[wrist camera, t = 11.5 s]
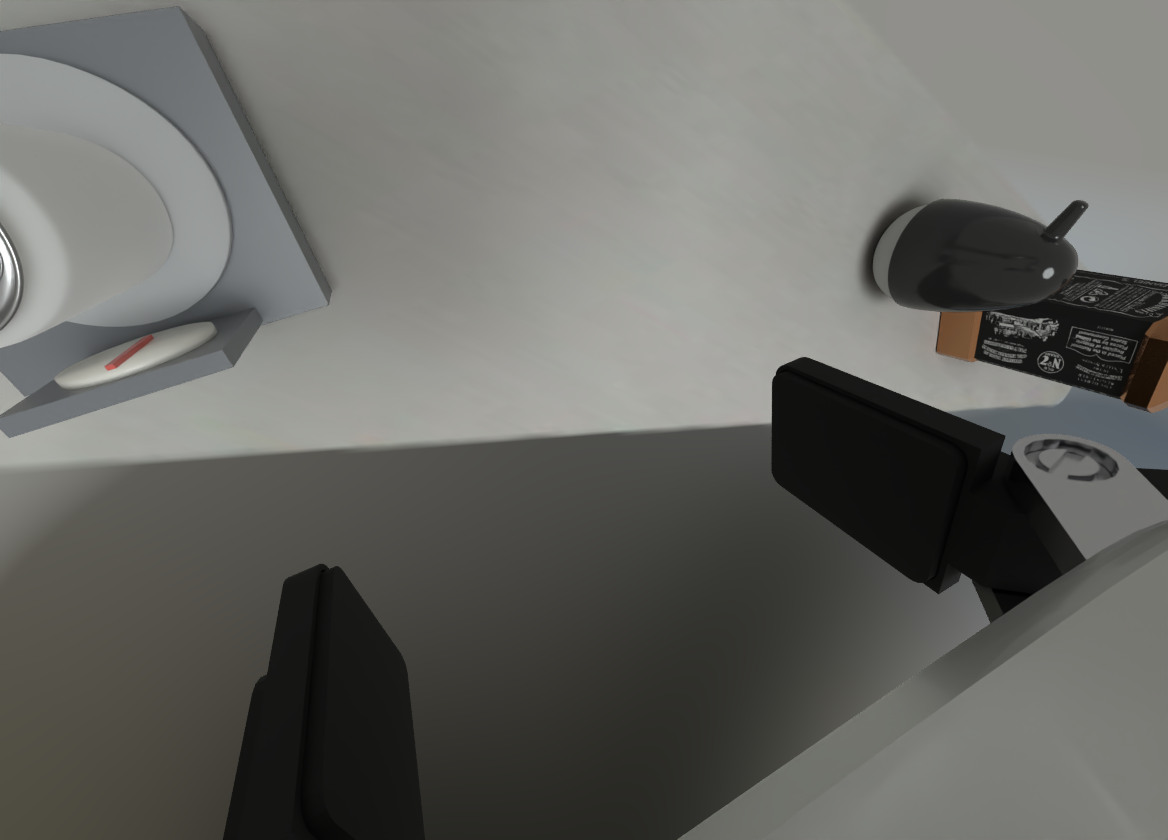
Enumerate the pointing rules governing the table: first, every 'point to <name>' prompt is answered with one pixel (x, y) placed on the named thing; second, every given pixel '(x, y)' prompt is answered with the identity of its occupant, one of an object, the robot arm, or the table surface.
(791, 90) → the table surface
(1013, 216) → the pump dispenser
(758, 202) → the table surface
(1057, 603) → the robot arm
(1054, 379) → the whiskey bottle
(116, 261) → the can
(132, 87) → the scale
